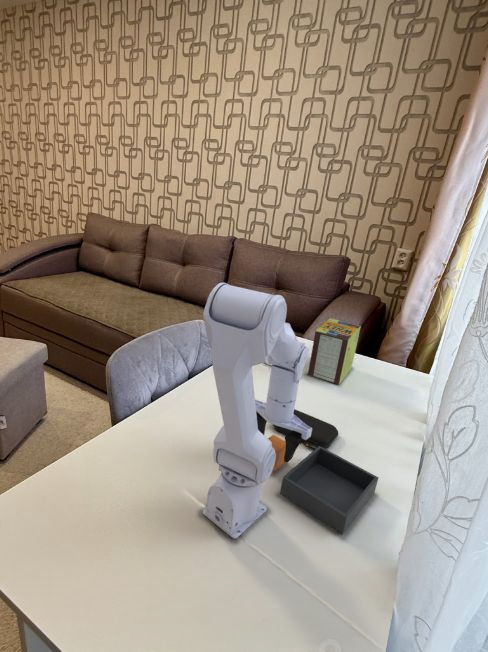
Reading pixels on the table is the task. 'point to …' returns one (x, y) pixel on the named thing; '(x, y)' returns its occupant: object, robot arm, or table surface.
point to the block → (278, 450)
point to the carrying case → (314, 431)
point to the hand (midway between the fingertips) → (272, 450)
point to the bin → (329, 488)
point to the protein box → (333, 350)
